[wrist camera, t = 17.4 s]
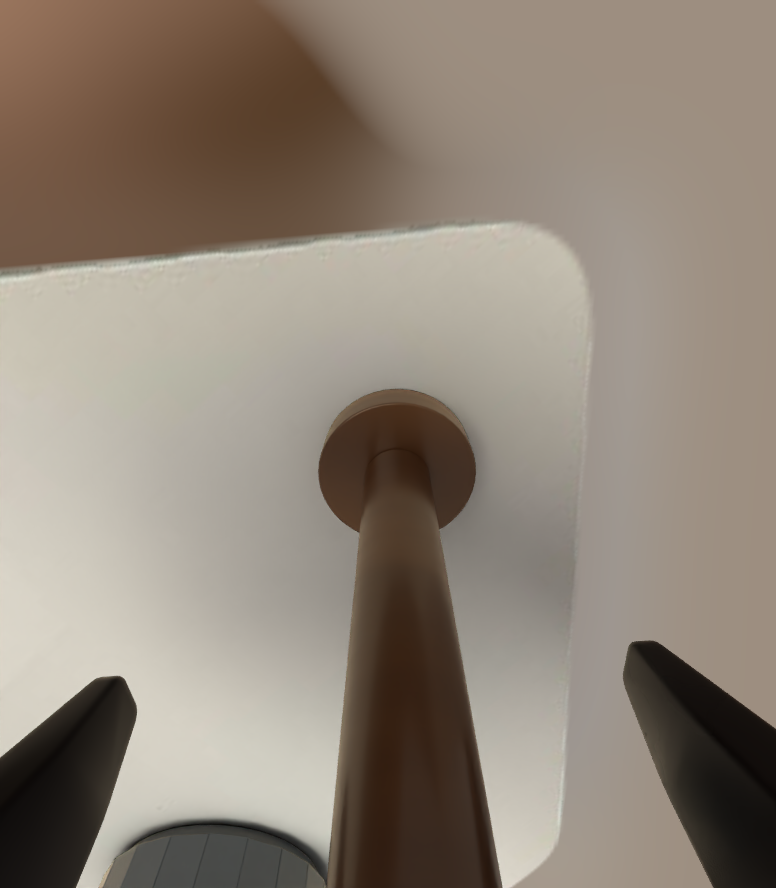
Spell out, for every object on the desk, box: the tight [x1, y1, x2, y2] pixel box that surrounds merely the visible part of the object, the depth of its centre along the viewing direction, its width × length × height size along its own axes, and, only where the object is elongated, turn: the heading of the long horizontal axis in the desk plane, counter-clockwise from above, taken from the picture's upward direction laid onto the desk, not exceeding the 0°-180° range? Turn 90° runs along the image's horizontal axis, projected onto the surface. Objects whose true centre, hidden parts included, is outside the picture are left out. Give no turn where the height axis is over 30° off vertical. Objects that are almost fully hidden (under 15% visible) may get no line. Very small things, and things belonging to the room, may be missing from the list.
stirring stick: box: [318, 389, 502, 888], centre depth 8 cm, size 4×4×12 cm
